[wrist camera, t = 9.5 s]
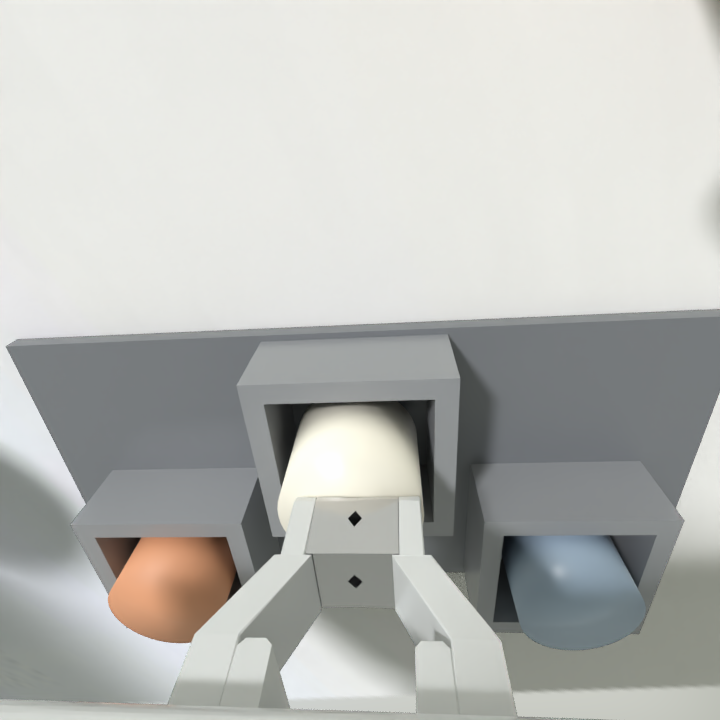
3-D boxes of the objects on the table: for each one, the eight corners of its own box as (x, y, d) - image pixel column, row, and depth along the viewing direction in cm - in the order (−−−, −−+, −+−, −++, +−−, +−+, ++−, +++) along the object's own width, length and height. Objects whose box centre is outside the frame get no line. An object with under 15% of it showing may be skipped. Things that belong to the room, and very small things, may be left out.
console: (126, 561, 20) (86, 630, 17) (17, 339, 14) (-66, 389, 12) (644, 561, 18) (689, 638, 15) (736, 308, 13) (828, 358, 10)
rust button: (166, 565, 18) (129, 642, 15) (139, 500, 16) (91, 575, 14) (253, 565, 18) (230, 643, 15) (234, 499, 16) (204, 575, 13)
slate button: (493, 566, 17) (514, 649, 14) (501, 497, 15) (526, 577, 12) (592, 566, 17) (630, 650, 14) (611, 496, 15) (659, 578, 12)
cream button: (306, 482, 14) (288, 563, 12) (290, 389, 13) (265, 460, 10) (417, 480, 14) (424, 563, 12) (416, 385, 12) (424, 457, 10)
